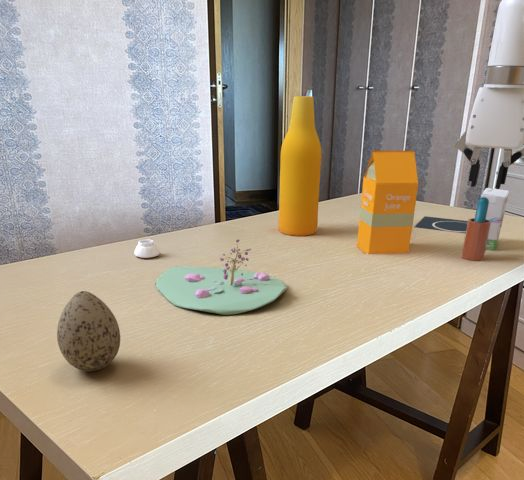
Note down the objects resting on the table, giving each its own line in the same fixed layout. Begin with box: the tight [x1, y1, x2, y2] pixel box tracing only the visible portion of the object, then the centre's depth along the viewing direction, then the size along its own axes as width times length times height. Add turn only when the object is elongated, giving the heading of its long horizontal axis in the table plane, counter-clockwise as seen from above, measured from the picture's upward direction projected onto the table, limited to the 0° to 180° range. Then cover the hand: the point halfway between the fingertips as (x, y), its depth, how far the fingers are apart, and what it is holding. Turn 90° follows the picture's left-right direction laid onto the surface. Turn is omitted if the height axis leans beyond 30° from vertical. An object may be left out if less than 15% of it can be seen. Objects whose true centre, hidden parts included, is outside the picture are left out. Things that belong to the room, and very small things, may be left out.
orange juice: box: [356, 150, 419, 255], centre depth 108 cm, size 8×9×20 cm
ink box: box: [480, 187, 510, 252], centre depth 114 cm, size 8×5×12 cm, turn 154°
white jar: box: [133, 238, 161, 259], centre depth 106 cm, size 5×3×5 cm
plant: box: [155, 239, 288, 316], centre depth 88 cm, size 25×21×9 cm
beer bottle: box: [277, 95, 323, 237], centre depth 119 cm, size 9×9×29 cm
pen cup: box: [461, 217, 491, 262], centre depth 105 cm, size 4×4×8 cm
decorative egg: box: [56, 290, 121, 372], centre depth 63 cm, size 7×7×10 cm
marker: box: [474, 197, 489, 223], centre depth 104 cm, size 2×2×12 cm
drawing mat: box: [414, 215, 468, 235], centre depth 131 cm, size 18×16×1 cm
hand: (485, 185), depth 101 cm, fingers open, 3 cm apart
